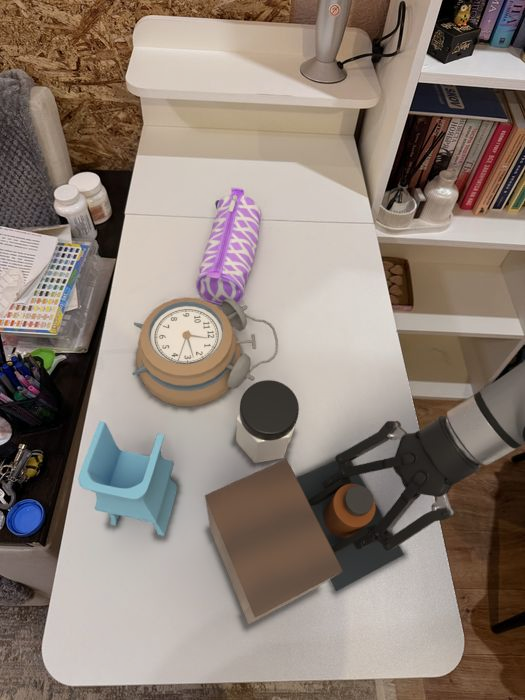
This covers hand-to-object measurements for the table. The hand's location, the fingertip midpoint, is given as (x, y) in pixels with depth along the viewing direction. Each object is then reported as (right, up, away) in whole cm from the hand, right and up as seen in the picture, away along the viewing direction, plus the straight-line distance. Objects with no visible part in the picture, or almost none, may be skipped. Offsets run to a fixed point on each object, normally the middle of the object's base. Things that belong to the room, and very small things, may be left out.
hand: (323, 525), depth 71 cm
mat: (+3, 0, +3) cm, 4 cm away
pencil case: (-15, +41, +26) cm, 51 cm away
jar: (-8, +11, +9) cm, 16 cm away
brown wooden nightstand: (-9, -5, 0) cm, 10 cm away
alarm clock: (-18, +23, +15) cm, 33 cm away
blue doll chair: (-25, +2, +3) cm, 26 cm away
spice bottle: (+3, 0, +3) cm, 4 cm away
